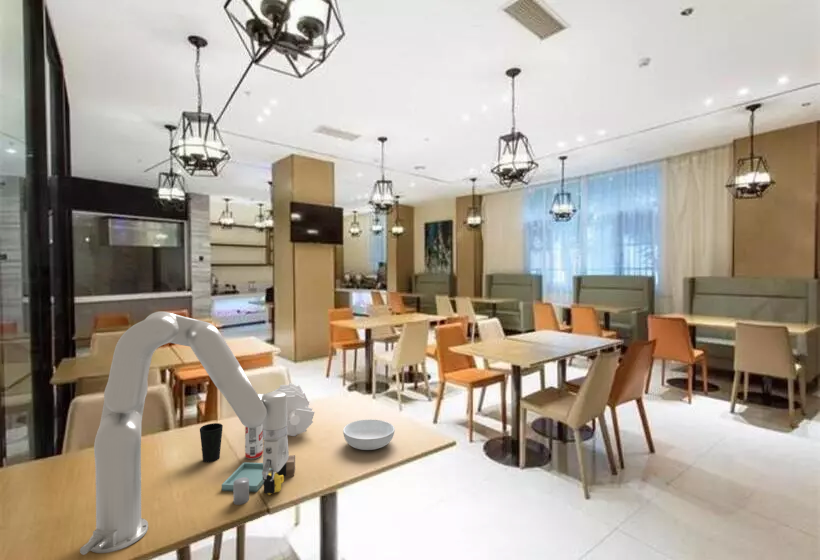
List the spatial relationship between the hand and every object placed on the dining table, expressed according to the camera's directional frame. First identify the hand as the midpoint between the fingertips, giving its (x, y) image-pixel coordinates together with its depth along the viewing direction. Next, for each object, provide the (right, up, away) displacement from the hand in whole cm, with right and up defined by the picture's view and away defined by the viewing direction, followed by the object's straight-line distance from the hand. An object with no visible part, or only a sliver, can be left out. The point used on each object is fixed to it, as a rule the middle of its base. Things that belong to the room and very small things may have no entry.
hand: (275, 484), depth 125 cm
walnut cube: (0, -2, +11) cm, 11 cm away
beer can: (-16, -2, +23) cm, 28 cm away
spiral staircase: (-11, -1, +49) cm, 51 cm away
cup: (-31, -2, +20) cm, 37 cm away
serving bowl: (+26, -2, +34) cm, 43 cm away
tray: (-11, -2, +6) cm, 13 cm away
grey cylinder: (-9, -2, -6) cm, 11 cm away
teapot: (0, -2, 0) cm, 2 cm away
